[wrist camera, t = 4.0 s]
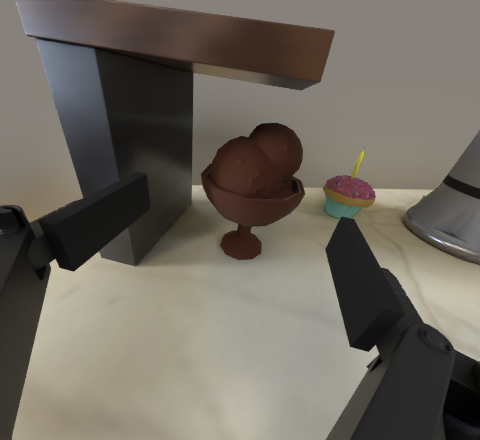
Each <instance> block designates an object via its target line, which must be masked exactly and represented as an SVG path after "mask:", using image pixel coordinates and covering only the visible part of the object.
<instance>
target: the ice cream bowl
mask: <svg viewBox="0 0 480 440" xmlns="http://www.w3.org/2000/svg"><path fill="white" fill-rule="evenodd" d="M302 156H303V149H302V145H301V142H300V139H299V138H298V137H297V135H296V134H295V132H294V131H293V130H291V129H290V128H288V127H287V126H285V125H282V124H279V123H266V124H265V123H264V124H260V125H259V126H257V127H256V128H255V129H254V130H253V132H252V133H251V134H250V136H249V137H244V136H240V137H238V138H235V139H232V140H230V141H228V142H227V143H226V144H224V145H223V146H222V147H221V148H220V149H218V151H217V154H216V156H215V158H214V159H213V161H212V164H210V165H209V166H208V167H207V168H206V169H205V170H204V171H203V172H202V174H201V177H202V183H203V188H204V190H205V193H206V195H207V197H208V199H209V200H210V201H211V203H212V204H213V205H214V207H215V208H216V209H217V210H218V212H219V213H220V214H221V215H223V216H224V217H225V218H226V219H228V220H230V221H233V222H235V223H238V229H237V231H231V232H229V233H227V234H225V235H224V236H223V239H222V242H221V245H220V246H221V247H222V249H223V250H224V252H225V254H227V255H229V256H231V257H233V258H236V259H238V260H245V259H253V258H255V257H256V256H258V255H259V254H261V241H260V240H259V239H258V238H257V237H256V236H255V235H254V234H251V233H250V232H251V227H252V226H267V225H269V224H271V223H274V222H276V221H277V220H279V219H281V218H283V217H285V216H287V215H288V214H290V213H291V212H292V211H293V210H294V209H295V208H296V207H297V206H298V205H299V203H300V202H301V200H302V198H303V197H304V195H305V191H304V188H303V185H302V182H301V181H300V180H299V179H297V178H295V177H293V174H295V173H296V172H297V171H298V170H299V168H300V165H301V162H302Z"/></svg>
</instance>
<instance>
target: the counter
mask: <svg viewBox="0 0 480 440" xmlns="http://www.w3.org/2000/svg"><path fill="white" fill-rule="evenodd" d="M15 2H16V6H17V9H18V12H19V15H20V18H21V21H22V24H23V27H24V31H25V33H26V35H27V36H30V37H34V38H36V39H35V40H36V43H37V46H38V49H39V53H40V56H41V59H42V63H43V66H44V69H45V72H46V76H47V79H48V82H49V86H50V89H51V92H52V95H53V99H54V102H55V105H56V109H57V112H58V115H59V119H60V122H61V125H62V128H63V132H64V135H65V139H66V142H67V145H68V148H69V151H70V155H71V158H72V162H73V165H74V168H75V171H76V175H77V178H78V181H79V184H80V188H81V191H82V194H83V198H85V197H87V196H89V195H91V194H93V193H95V192H97V191H99V190H101V189H103V188H105V187H107V186H109V185H111V184H113V183H115V182H117V181H119V180H121V179H123V178H125V177H127V176H129V175H131V174H133V173H135V172H141V173H145V174H147V178H148V188H149V197H150V207H151V209H150V210H148V211H147V212H146V213H145V214H143V215H142V216H141V217H140V218H139V219H137V220H136V221H135V222H134V223H133V224H131V225H130V226H129V227H128V228H126V229H125V230H124V231H123V232H122V233H120V234H119V235H118V236H117V237H115V238H114V239H113V240H112V241H111V242H109V243H108V244H107V245H106V246H104V247H103V248H102V249H101V250H100V254H101V257H102V258H106V259H110V260H113V261H117V262H121V263H125V264H129V265H132V266H136V265H137V264H138V263H139V262H140V261H141V260H142V259H143V258H144V256H145V255H146V254H147V253H148V252H149V251H150V250H151V249H152V247H153V246H154V245H155V244H156V243H157V242H158V241H159V240H160V238H161V237H162V236H163V235H164V234H165V233H166V232H167V231H168V230H169V228H170V227H171V226H172V225H173V224H174V223H175V222H176V221H177V219H178V218H179V217H180V216H181V215H182V214H183V213H184V212H185V210H186V209H187V208H188V207H189V206H190V205H191V197H192V128H193V127H192V126H193V73H198V74H205V75H211V76H217V77H223V78H229V79H235V80H241V81H247V82H253V83H260V84H265V85H272V86H278V87H284V88H290V89H296V90H303V89H305V88H308V87H310V86H312V85H314V84H317V83H319V82H320V81H321V78H322V74H323V71H324V68H325V65H326V61H327V58H328V54H329V51H330V48H331V44H332V41H333V37H334V34H335V31H334V30H327V29H320V28H312V27H305V26H298V25H290V24H283V23H276V22H268V21H261V20H254V19H246V18H239V17H232V16H225V15H217V14H210V13H203V12H195V11H187V10H180V9H173V8H166V7H159V6H151V5H143V4H136V3H129V2H121V1H115V0H15Z"/></svg>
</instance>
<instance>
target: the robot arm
mask: <svg viewBox="0 0 480 440" xmlns="http://www.w3.org/2000/svg"><path fill="white" fill-rule="evenodd" d="M150 209H151V207H150V197H149V188H148V178H147V174H145V173H141V172H135V173H133V174H131V175H129V176H127V177H125V178H123V179H121V180H119V181H117V182H115V183H113V184H111V185H109V186H107V187H105V188H103V189H101V190H99V191H97V192H95V193H93V194H91V195H89V196H87V197H85V198H83V199H81V200H77V201H73V202H72V203H69V204H68V205H65V207H61V208H59V209H57V211H53V212H51V213H49V214H47V215H45V216H43V217H41V218H39V219H37V220H35V221H33V222H31V223H29V221H28V220H27V218H26V215H25V213H24V211H23V209H22V208H21V207H19V206H15V205H3V206H0V440H12V433H13V429H14V424H15V420H16V416H17V412H18V407H19V403H20V399H21V395H22V390H23V386H24V382H25V378H26V373H27V369H28V365H29V361H30V356H31V352H32V348H33V344H34V339H35V335H36V331H37V327H38V322H39V318H40V314H41V310H42V305H43V301H44V297H45V293H46V288H47V284H48V280H49V276H50V271H51V266H50V264H49V263H50V262H51V261H53V260H54V259H56V261H57V263H58V265H59V267H60V268H63V269H66V270H70V271H75V270H76V269H78V268H79V267H80V266H81V265H83V264H84V263H85V262H86V261H87V260H89V259H90V258H91V257H92V256H94V255H95V254H96V253H97V252H98V251H100V250H101V249H102V248H103V247H104V246H106V245H107V244H108V243H109V242H111V241H112V240H113V239H114V238H115V237H117V236H118V235H119V234H120V233H122V232H123V231H124V230H125V229H126V228H128V227H129V226H130V225H131V224H133V223H134V222H135V221H136V220H137V219H139V218H140V217H141V216H142V215H143V214H145V213H146V212H147V211H148V210H150ZM403 221H404V223H405V225H406V226H407V227H408V228H409V229H410V230H411V231H412V232H413V233H414V234H416V235H417V236H418V237H420V238H421V239H423V240H425V241H426V242H428V243H430V244H431V245H433V246H435V247H437V248H439V249H441V250H443V251H445V252H447V253H449V254H452V255H454V256H457V257H459V258H462V259H464V260H467V261H470V262H473V263H477V264H480V130H479V132H478V133H477V135H476V136H475V137H474V139H473V140H472V142H471V143H470V144H469V146H468V147H467V149H466V150H465V151H464V153H463V154H462V156H461V157H460V158H459V160H458V161H457V163H456V164H455V165H454V167H453V168H452V169H451V171H450V172H449V174H448V175H447V176H446V178H445V179H444V180H443V182H442V183H441V184H440V186H439V187H438V188H436V189H435V190H434V191H432V192H431V193H430V194H428V195H427V196H426V197H425V196H423V197H422V199H421V200H420V202H418V203H417V204H416V205H415V206H413V207H411V208H410V209H409V210H408V211H407V213H406V214H405V216H404V217H403ZM325 250H326V254H327V258H328V262H329V266H330V270H331V274H332V278H333V281H334V285H335V289H336V293H337V297H338V301H339V305H340V309H341V313H342V317H343V321H344V325H345V329H346V332H347V336H348V340H349V344H350V347H353V348H356V349H360V350H364V351H367V352H369V351H370V350H371V349H372V348H373V347H374V346H375V345H376V346H377V349H378V352H379V355H378V356H377V357H376V358H375V359H374V360H373V361H372V362H371V363H370V364H369V365H368V366H367V368H369V369H368V371H367V373H366V374H365V376H364V378H363V379H362V381H361V383H360V384H359V386H358V388H357V389H356V391H355V393H354V394H353V396H352V397H351V399H350V401H349V402H348V404H347V406H346V407H345V409H344V411H343V412H342V414H341V416H340V417H339V419H338V421H337V422H336V424H335V426H334V427H333V429H332V431H331V432H330V434H329V435H328V437H327V439H326V440H480V362H478V361H476V360H474V359H472V358H470V357H468V356H466V355H464V354H462V353H460V352H458V351H456V350H454V348H453V346H452V344H451V343H450V342H449V341H448V339H447V338H446V337H445V336H444V335H443V334H441V333H440V332H439V331H438V330H436V329H435V328H433V327H431V326H430V325H428V324H425V323H424V322H423V321H422V319H421V317H420V316H419V314H418V313H417V311H416V309H415V308H414V306H413V304H412V303H411V301H410V299H409V298H408V296H406V293H405V291H404V289H403V288H402V286H401V285H400V283H399V281H398V280H397V278H396V277H395V276H394V275H393V274H392V273H391V272H390V271H389V270H388V269H385V268H381V267H380V265H379V264H378V262H377V260H376V258H375V256H374V255H373V253H372V251H371V249H370V247H369V246H368V244H367V242H366V240H365V238H364V237H363V235H362V233H361V231H360V229H359V227H358V226H357V224H356V222H355V220H354V219H351V218H347V217H342V216H341V218H340V220H339V222H338V224H337V226H336V229H335V231H334V233H333V235H332V237H331V239H330V241H329V243H328V245H327V247H326V249H325Z"/></svg>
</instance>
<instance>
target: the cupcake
mask: <svg viewBox="0 0 480 440" xmlns="http://www.w3.org/2000/svg"><path fill="white" fill-rule="evenodd" d="M364 148H365V147H363V150H362V152H360V154H359V157H358V160H357V162H356V165H355V167H354V170H353V173H352V175H351V176H347V175H346V176H336V177H333V178H332V179H330V180H329V181H327V182H326V184H325V186H324V187H323V190H324V192H325V195H326V207H325V210H326V212H327V213H328V214H330V215H331V216H333V217H336V218H339V219H340V218H341V216H342V217H347V218H351V217H352V216H353V215H354V214H355V213H356V212H358V211H359V210H360V209H361V208H363V207H369V206H371V205H372V204H373V203H374V201H375V197H376V196H375V191H373V189H372V187H371V186H370V185H368V183H367V182H364V181H362V180H360V179H358V178H355V176H356V173H357V171H358V168H359V166H360V163H361V161H362V158H363V156H364Z"/></svg>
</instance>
